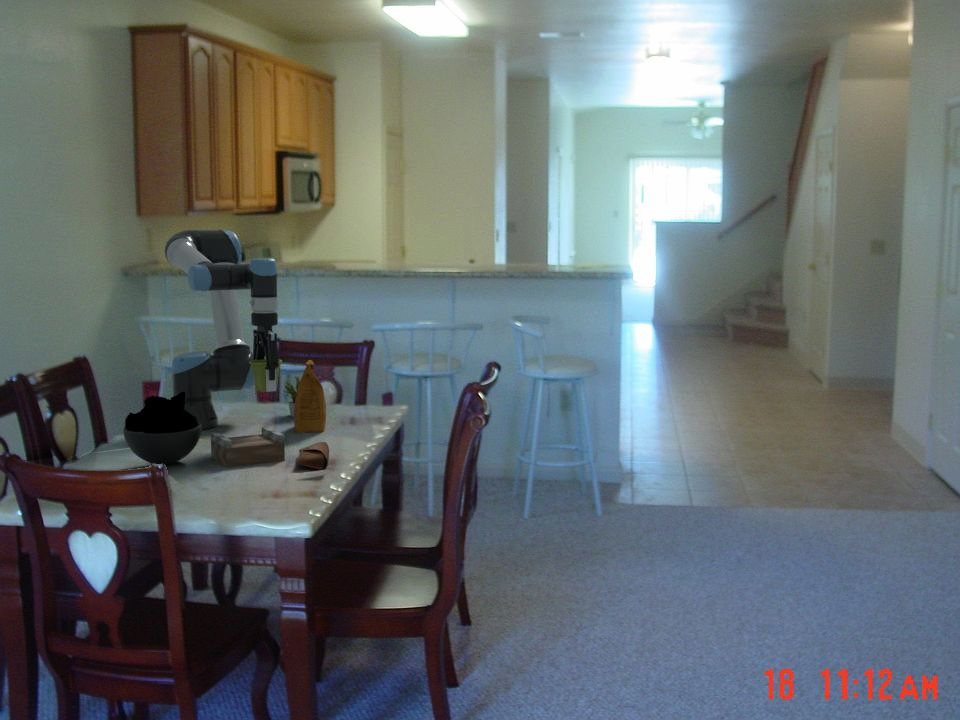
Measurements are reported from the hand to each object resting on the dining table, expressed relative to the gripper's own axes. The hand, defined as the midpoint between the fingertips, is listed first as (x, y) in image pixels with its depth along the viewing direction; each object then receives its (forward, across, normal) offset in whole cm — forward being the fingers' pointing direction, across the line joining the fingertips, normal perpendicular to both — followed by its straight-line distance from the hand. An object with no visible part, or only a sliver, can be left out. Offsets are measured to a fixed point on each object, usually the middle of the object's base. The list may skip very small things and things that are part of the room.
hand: (266, 389), depth 297 cm
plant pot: (+1, 0, 0) cm, 1 cm away
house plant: (+16, -28, +22) cm, 40 cm away
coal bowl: (+16, +12, -33) cm, 39 cm away
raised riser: (+16, +18, -12) cm, 27 cm away
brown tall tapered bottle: (+16, -9, +17) cm, 26 cm away
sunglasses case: (+16, +32, 0) cm, 35 cm away
